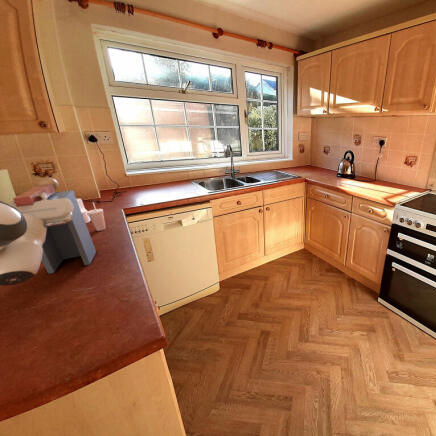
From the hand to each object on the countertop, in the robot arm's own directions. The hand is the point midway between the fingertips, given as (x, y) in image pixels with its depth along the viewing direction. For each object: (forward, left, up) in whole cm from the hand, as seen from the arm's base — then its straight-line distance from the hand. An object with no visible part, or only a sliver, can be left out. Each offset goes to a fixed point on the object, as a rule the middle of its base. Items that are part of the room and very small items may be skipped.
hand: (32, 195), depth 75 cm
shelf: (+5, +7, -29) cm, 30 cm away
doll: (+3, +4, -2) cm, 6 cm away
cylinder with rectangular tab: (+27, +53, -29) cm, 66 cm away
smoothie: (+27, +32, -29) cm, 51 cm away
